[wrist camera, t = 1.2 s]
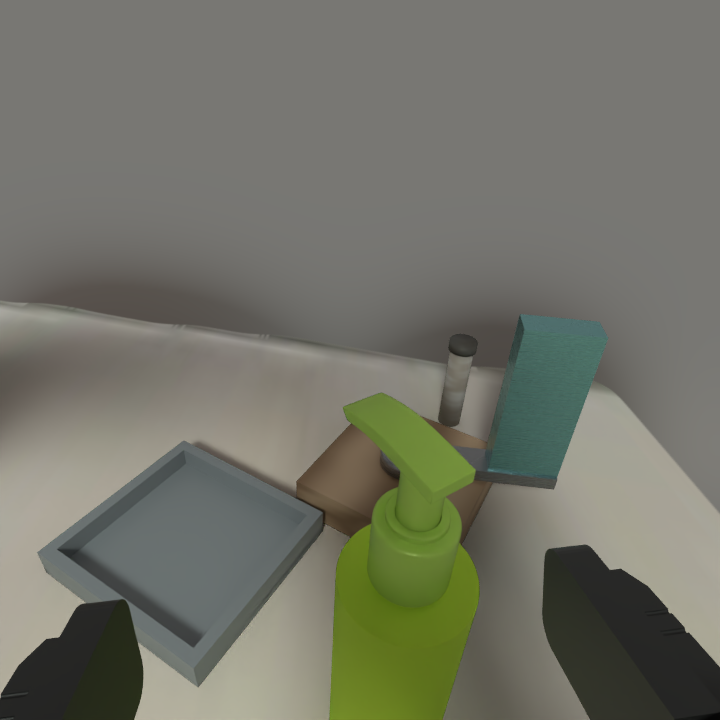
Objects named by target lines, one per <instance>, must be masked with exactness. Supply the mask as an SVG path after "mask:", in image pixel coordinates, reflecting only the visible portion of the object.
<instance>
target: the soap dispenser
mask: <svg viewBox="0 0 720 720" xmlns="http://www.w3.org/2000/svg"><path fill="white" fill-rule="evenodd" d="M343 410H344V413H345V415H346V418H347V420H348V421H349V422H350V423H352V424H353V425H354V426H356V427H357V428H358V429H360V430H361V431H362V432H363V433H364V434H366V435H367V436H368V437H369V438H370V439H371V440H372V441H373V442H374V443H375V444H376V445H377V446H378V447H379V448H380V449H381V450H382V451H383V452H384V454H385V455H386V456H387V457H388V458H389V459H390V460H391V461H392V462H393V463H394V465H395V466H396V467H397V468H398V469H399V470H400V478H399V486H398V487H397V488H394V489H391V490H389V491H388V492H386V493H385V494H383V495H382V496H381V497H380V498H379V500H378V501H377V502H376V504H375V507H374V509H373V513H372V520H371V524H370V525H367V526H366V527H364V528H362V529H361V530H359V531H358V532H357V533H356V534H354V535H353V536H352V537H351V538H350V539H349V541H348V542H347V543H346V545H345V546H344V548H343V550H342V552H341V554H340V556H339V559H338V562H337V567H336V580H335V604H334V627H333V650H332V673H331V696H330V720H442V719H443V716H444V713H445V710H446V706H447V703H448V700H449V697H450V693H451V690H452V687H453V684H454V680H455V677H456V674H457V671H458V667H459V664H460V661H461V658H462V654H463V651H464V648H465V645H466V642H467V638H468V635H469V632H470V629H471V625H472V622H473V619H474V616H475V612H476V609H477V606H478V601H479V593H480V587H479V579H478V575H477V571H476V568H475V566H474V564H473V561H472V560H471V558H470V556H469V555H468V553H467V552H466V550H465V549H464V548H463V547H462V545H461V544H460V543H459V542H460V538H461V532H462V522H461V518H460V515H459V512H458V511H457V509H456V507H455V506H454V505H453V503H452V502H451V501H450V500H449V499H448V498H446V496H448V495H450V494H452V493H454V492H455V491H457V490H459V489H461V488H463V487H465V486H467V485H469V484H470V483H472V482H473V480H474V476H475V472H476V470H475V469H474V468H473V467H472V466H471V465H470V464H469V463H468V462H467V461H466V460H465V459H464V457H463V456H462V455H461V454H460V453H459V452H458V451H457V450H456V449H455V448H454V447H453V446H452V445H451V444H450V443H449V442H448V441H447V440H446V439H444V438H443V437H442V436H441V435H440V434H439V433H438V432H437V431H436V430H435V429H434V428H433V427H432V426H431V425H430V424H429V423H427V422H426V421H425V420H424V419H423V418H422V417H420V416H419V415H418V414H417V413H415V412H414V411H413V410H411V409H410V408H408V407H407V406H405V405H404V404H402V403H401V402H399V401H397V400H396V399H394V398H392V397H390V396H388V395H386V394H384V393H378V394H376V395H373V396H370V397H368V398H365V399H362V400H360V401H357V402H354V403H352V404H349V405H347V406H344V407H343Z"/></svg>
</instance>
